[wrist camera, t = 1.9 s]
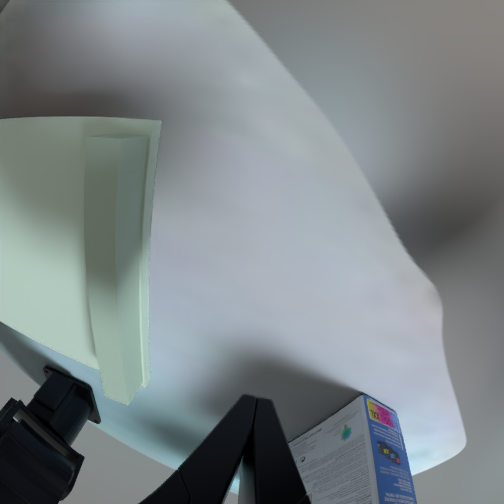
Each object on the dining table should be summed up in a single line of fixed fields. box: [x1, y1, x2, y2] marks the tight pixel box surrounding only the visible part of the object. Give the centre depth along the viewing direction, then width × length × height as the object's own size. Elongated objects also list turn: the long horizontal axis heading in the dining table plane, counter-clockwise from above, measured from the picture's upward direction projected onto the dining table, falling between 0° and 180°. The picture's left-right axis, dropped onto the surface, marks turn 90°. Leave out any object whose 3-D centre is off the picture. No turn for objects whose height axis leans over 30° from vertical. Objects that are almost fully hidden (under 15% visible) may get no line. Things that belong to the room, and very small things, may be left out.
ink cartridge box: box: [288, 395, 417, 504], centre depth 17 cm, size 10×6×14 cm, turn 145°
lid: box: [0, 116, 162, 406], centre depth 13 cm, size 14×17×3 cm
